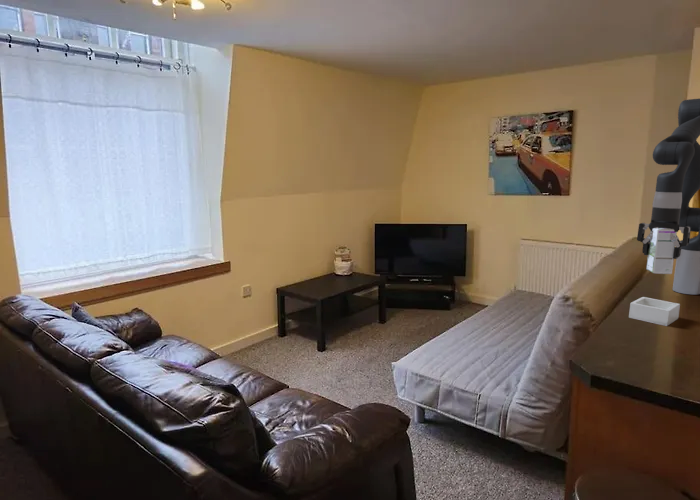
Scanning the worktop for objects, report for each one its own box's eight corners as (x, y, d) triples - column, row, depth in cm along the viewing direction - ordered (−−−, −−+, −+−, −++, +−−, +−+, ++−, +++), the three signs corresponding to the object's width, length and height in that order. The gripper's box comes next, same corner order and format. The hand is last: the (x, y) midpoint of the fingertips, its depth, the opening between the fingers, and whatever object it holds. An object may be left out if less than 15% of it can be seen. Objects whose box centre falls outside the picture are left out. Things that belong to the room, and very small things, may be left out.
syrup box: (672, 274, 149) (678, 229, 146) (652, 273, 150) (657, 228, 148) (664, 270, 154) (670, 226, 152) (645, 269, 156) (650, 226, 153)
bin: (641, 310, 163) (642, 296, 162) (678, 318, 154) (680, 303, 153) (628, 317, 156) (630, 303, 155) (666, 326, 147) (668, 310, 146)
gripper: (697, 207, 145) (690, 258, 148) (645, 204, 156) (640, 252, 159) (689, 208, 141) (682, 261, 144) (637, 205, 152) (631, 254, 154)
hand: (660, 256), depth 151 cm, fingers closed on syrup box, 7 cm apart
